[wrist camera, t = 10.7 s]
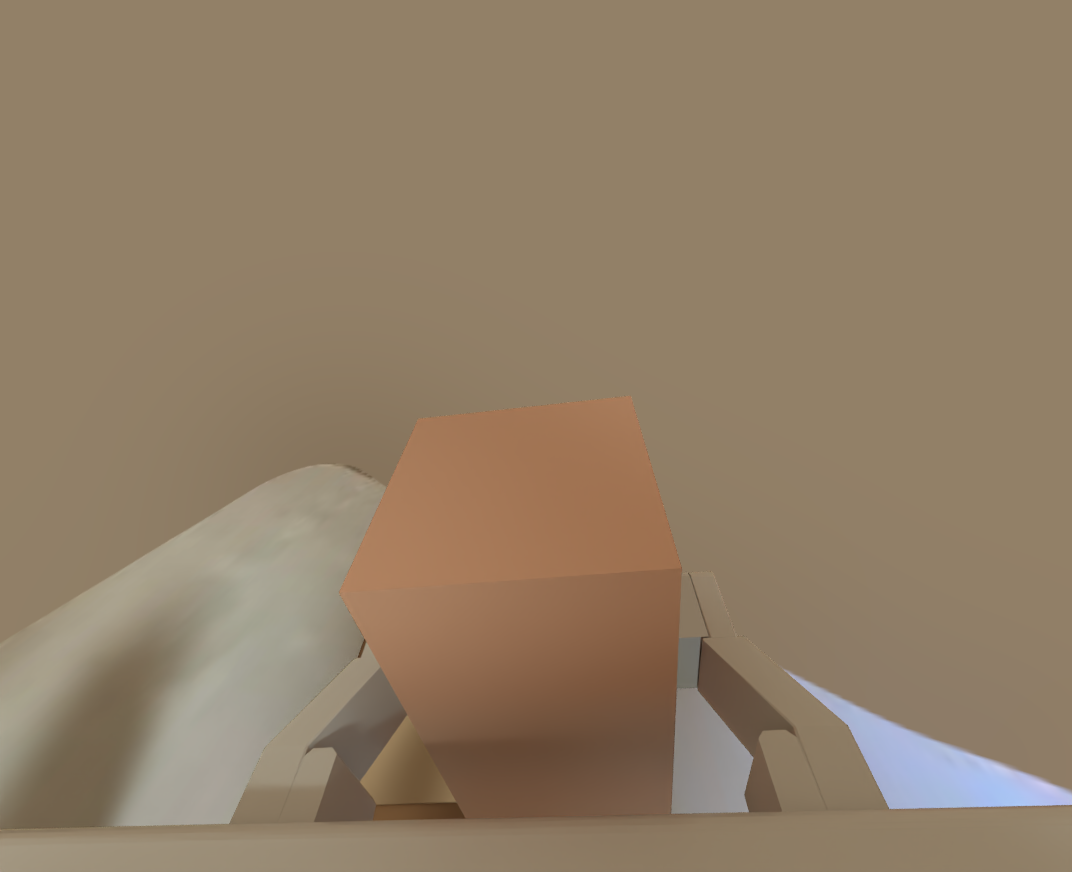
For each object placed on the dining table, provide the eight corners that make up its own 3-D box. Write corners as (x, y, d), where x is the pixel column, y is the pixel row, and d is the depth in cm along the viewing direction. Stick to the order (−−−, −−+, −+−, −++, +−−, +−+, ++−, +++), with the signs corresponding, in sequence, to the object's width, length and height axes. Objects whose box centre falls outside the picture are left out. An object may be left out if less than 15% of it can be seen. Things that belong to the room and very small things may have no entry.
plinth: (326, 886, 21) (286, 853, 18) (399, 637, 31) (378, 596, 28) (602, 880, 19) (595, 845, 17) (583, 624, 29) (577, 580, 27)
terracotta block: (485, 854, 12) (338, 592, 6) (501, 677, 15) (418, 418, 10) (669, 851, 11) (682, 568, 6) (639, 670, 15) (630, 395, 10)
